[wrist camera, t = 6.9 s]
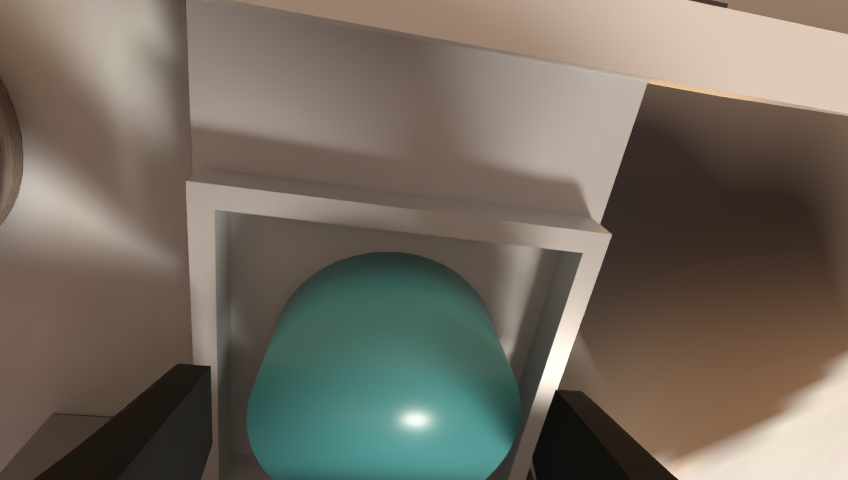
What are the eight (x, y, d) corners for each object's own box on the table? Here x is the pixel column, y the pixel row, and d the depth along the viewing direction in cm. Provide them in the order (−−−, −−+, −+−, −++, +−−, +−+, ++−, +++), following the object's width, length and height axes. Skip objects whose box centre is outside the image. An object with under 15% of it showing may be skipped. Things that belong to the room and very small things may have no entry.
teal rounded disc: (270, 425, 12) (245, 514, 10) (278, 238, 10) (248, 296, 8) (469, 436, 13) (488, 521, 11) (515, 265, 11) (552, 324, 8)
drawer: (131, 498, 14) (43, 659, 10) (57, -99, 8) (-212, -218, 4) (554, 509, 16) (606, 647, 12) (743, 41, 10) (949, 40, 6)
